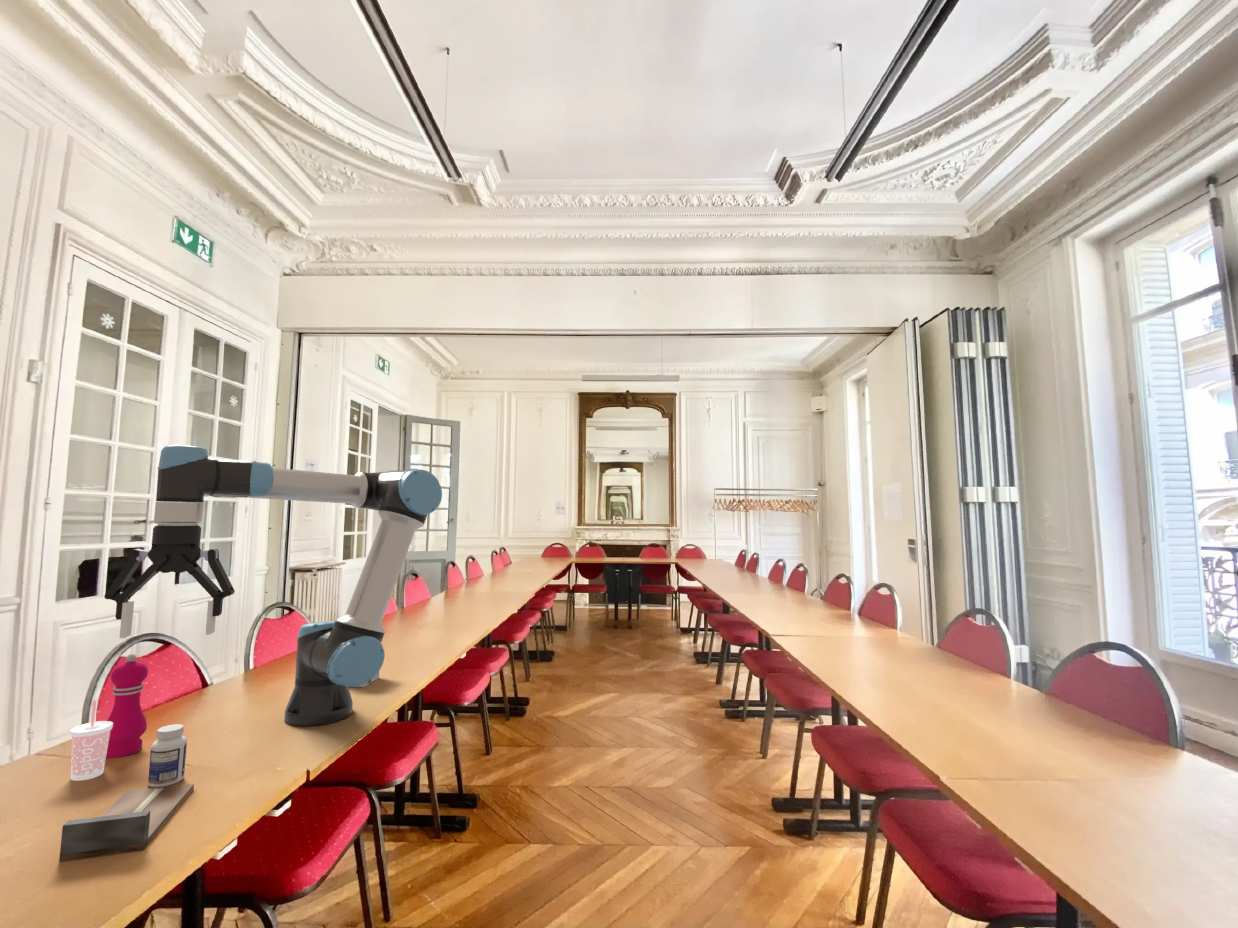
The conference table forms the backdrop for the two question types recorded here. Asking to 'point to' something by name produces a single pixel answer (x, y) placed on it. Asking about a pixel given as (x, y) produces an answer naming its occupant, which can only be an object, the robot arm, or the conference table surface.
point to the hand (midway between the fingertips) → (168, 635)
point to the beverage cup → (89, 748)
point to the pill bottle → (167, 756)
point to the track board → (122, 824)
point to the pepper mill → (127, 708)
